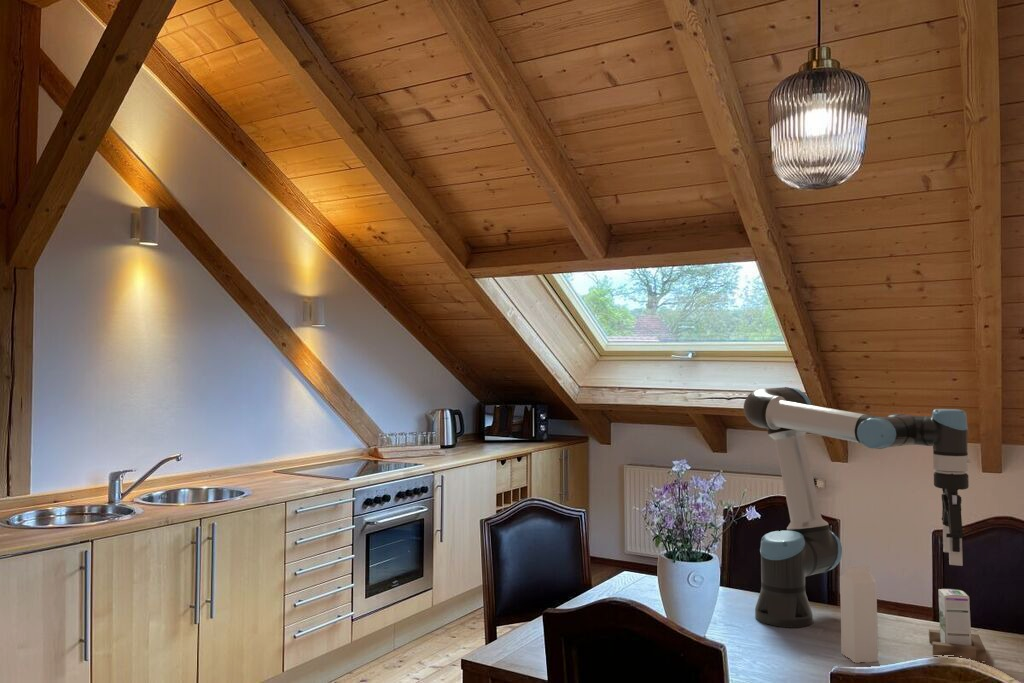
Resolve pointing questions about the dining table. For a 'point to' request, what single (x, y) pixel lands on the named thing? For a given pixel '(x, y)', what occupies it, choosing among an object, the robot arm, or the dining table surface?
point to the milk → (859, 615)
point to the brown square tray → (958, 647)
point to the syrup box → (954, 617)
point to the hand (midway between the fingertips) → (952, 558)
